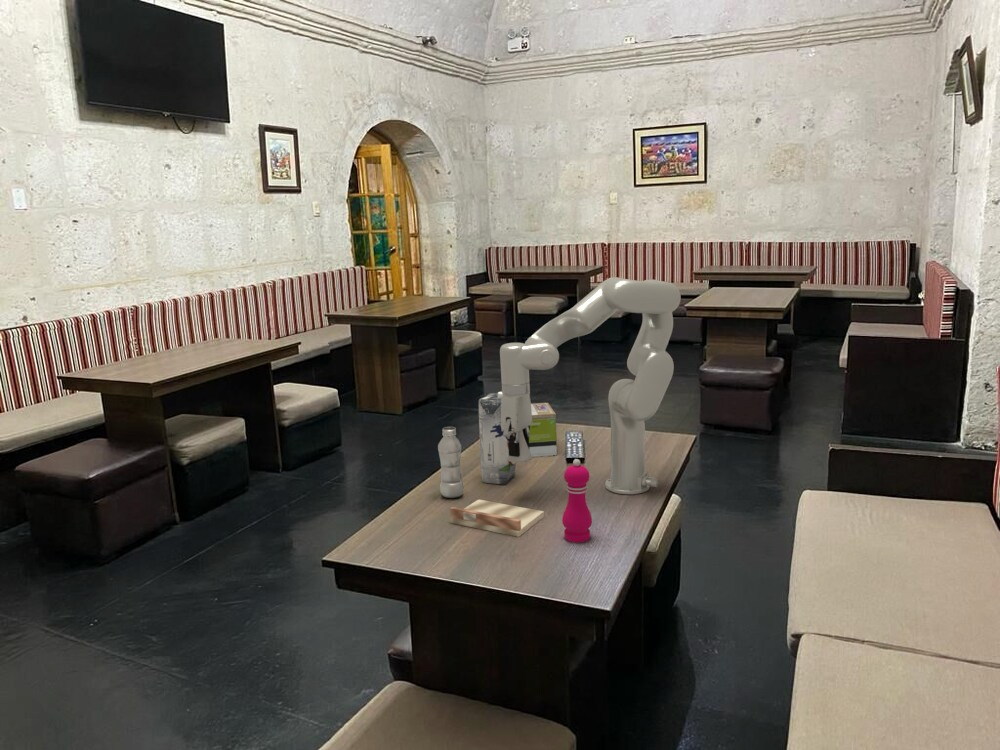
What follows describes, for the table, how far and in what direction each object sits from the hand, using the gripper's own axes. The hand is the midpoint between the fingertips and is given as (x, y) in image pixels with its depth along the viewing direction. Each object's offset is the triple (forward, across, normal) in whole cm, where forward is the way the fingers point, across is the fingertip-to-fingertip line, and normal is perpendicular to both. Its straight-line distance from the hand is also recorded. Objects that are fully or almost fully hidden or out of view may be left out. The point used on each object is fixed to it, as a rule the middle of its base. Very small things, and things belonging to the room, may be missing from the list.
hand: (519, 452), depth 206 cm
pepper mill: (+14, +17, +24) cm, 33 cm away
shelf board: (+13, +16, +1) cm, 21 cm away
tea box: (+14, -42, -16) cm, 47 cm away
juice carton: (+14, -11, -14) cm, 23 cm away
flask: (+2, 0, 0) cm, 2 cm away
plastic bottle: (+13, +7, -19) cm, 24 cm away
